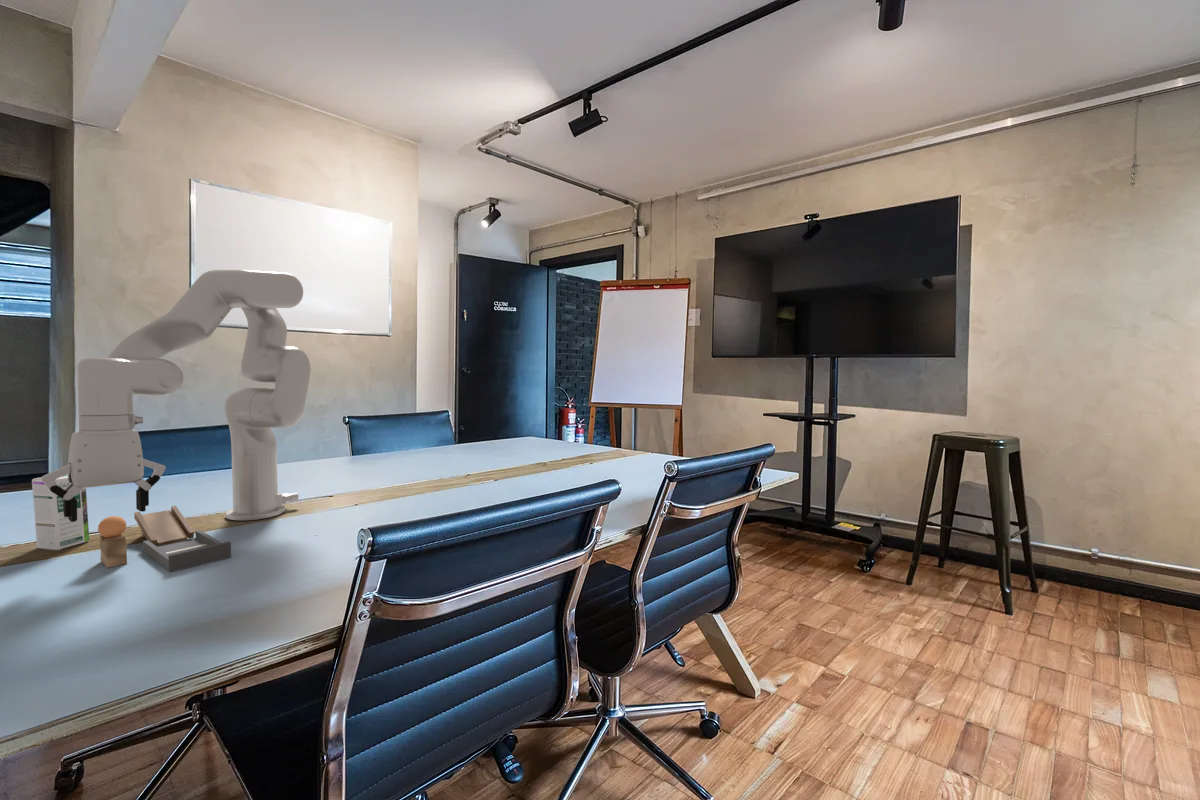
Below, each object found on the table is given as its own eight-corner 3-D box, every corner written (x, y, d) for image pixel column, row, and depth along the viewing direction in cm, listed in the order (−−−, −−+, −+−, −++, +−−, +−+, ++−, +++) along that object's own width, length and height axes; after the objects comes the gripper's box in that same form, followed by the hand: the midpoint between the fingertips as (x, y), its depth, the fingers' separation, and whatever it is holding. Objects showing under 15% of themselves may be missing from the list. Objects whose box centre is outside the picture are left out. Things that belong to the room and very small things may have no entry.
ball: (123, 532, 105) (122, 512, 105) (129, 536, 103) (128, 516, 102) (96, 537, 102) (95, 516, 101) (101, 542, 99) (100, 520, 99)
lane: (200, 539, 116) (199, 525, 116) (231, 557, 106) (230, 542, 106) (143, 550, 109) (142, 536, 109) (170, 572, 99) (170, 556, 98)
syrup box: (57, 550, 108) (54, 479, 107) (35, 548, 109) (31, 477, 108) (90, 541, 114) (86, 473, 112) (68, 539, 115) (64, 471, 114)
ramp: (175, 529, 122) (174, 505, 122) (194, 540, 115) (193, 515, 115) (134, 537, 117) (133, 511, 116) (151, 549, 109) (150, 522, 109)
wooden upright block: (120, 557, 105) (119, 530, 105) (127, 563, 102) (125, 536, 102) (101, 561, 103) (99, 534, 102) (107, 567, 100) (106, 539, 100)
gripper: (158, 420, 110) (159, 503, 110) (36, 425, 96) (38, 520, 97) (170, 423, 105) (171, 510, 106) (44, 428, 91) (46, 528, 92)
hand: (108, 515), depth 101 cm, fingers open, 9 cm apart
